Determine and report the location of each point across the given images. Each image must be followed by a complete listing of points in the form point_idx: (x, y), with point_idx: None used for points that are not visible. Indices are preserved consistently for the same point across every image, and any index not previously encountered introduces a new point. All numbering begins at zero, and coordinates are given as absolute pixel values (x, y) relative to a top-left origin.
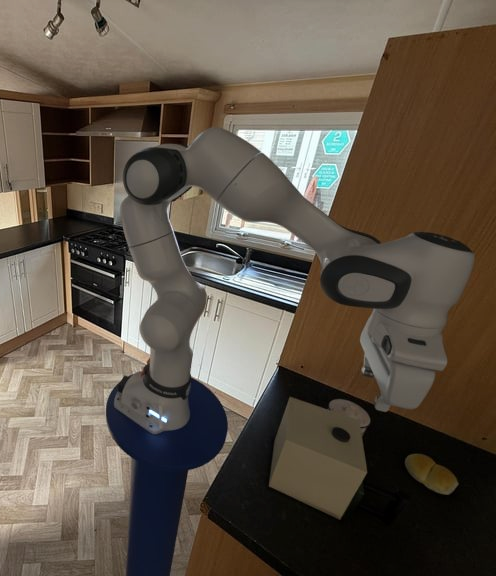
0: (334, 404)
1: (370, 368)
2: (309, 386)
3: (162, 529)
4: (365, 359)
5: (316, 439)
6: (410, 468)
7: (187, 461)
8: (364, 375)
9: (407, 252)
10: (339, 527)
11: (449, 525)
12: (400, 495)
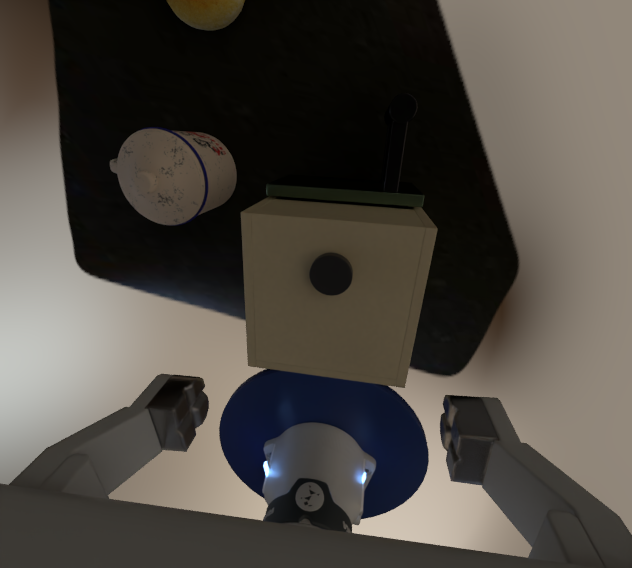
0: (158, 216)
1: (163, 429)
2: (87, 217)
3: None
4: (118, 485)
5: (373, 327)
6: (220, 23)
7: (404, 417)
8: (207, 407)
9: None
10: (425, 196)
11: None
12: (407, 116)
